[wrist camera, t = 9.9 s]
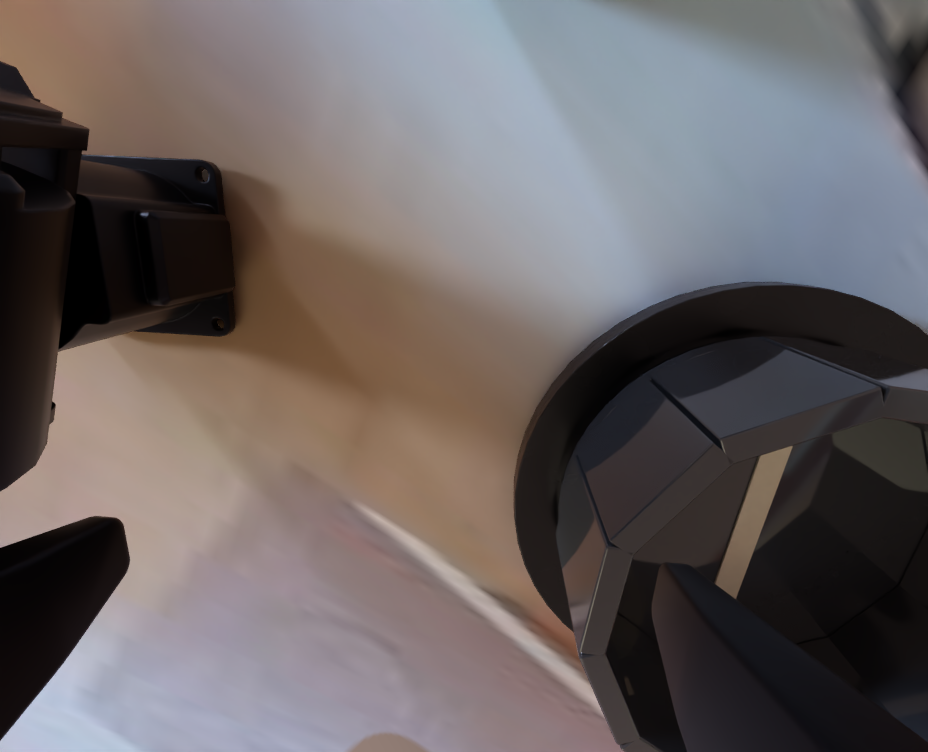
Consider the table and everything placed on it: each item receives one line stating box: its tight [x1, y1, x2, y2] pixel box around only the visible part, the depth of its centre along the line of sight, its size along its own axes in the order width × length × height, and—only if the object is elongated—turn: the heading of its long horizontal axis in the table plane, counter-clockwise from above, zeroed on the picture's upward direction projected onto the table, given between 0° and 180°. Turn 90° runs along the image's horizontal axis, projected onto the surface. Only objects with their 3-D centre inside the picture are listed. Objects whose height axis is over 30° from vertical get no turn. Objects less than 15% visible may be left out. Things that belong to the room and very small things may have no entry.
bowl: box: [555, 336, 928, 752], centre depth 16 cm, size 17×14×6 cm
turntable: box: [514, 282, 928, 632], centre depth 20 cm, size 18×18×1 cm
